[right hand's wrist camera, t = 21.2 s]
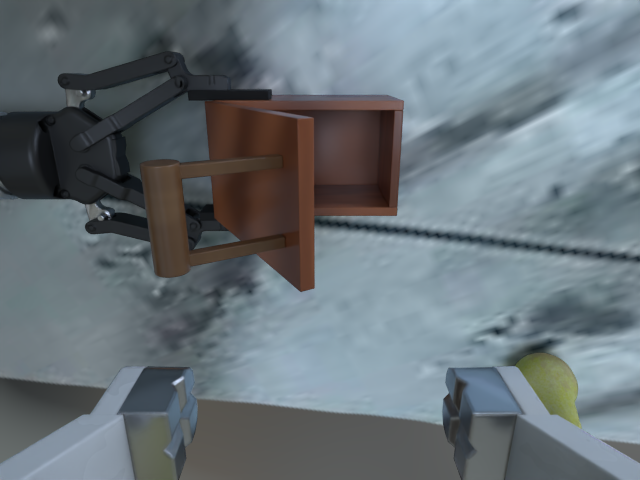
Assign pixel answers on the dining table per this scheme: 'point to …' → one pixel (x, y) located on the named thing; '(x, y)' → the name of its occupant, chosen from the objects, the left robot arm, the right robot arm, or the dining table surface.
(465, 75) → the dining table surface
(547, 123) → the dining table surface
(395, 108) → the chest
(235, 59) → the dining table surface
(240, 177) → the lid
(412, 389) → the dining table surface
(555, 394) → the fruit
